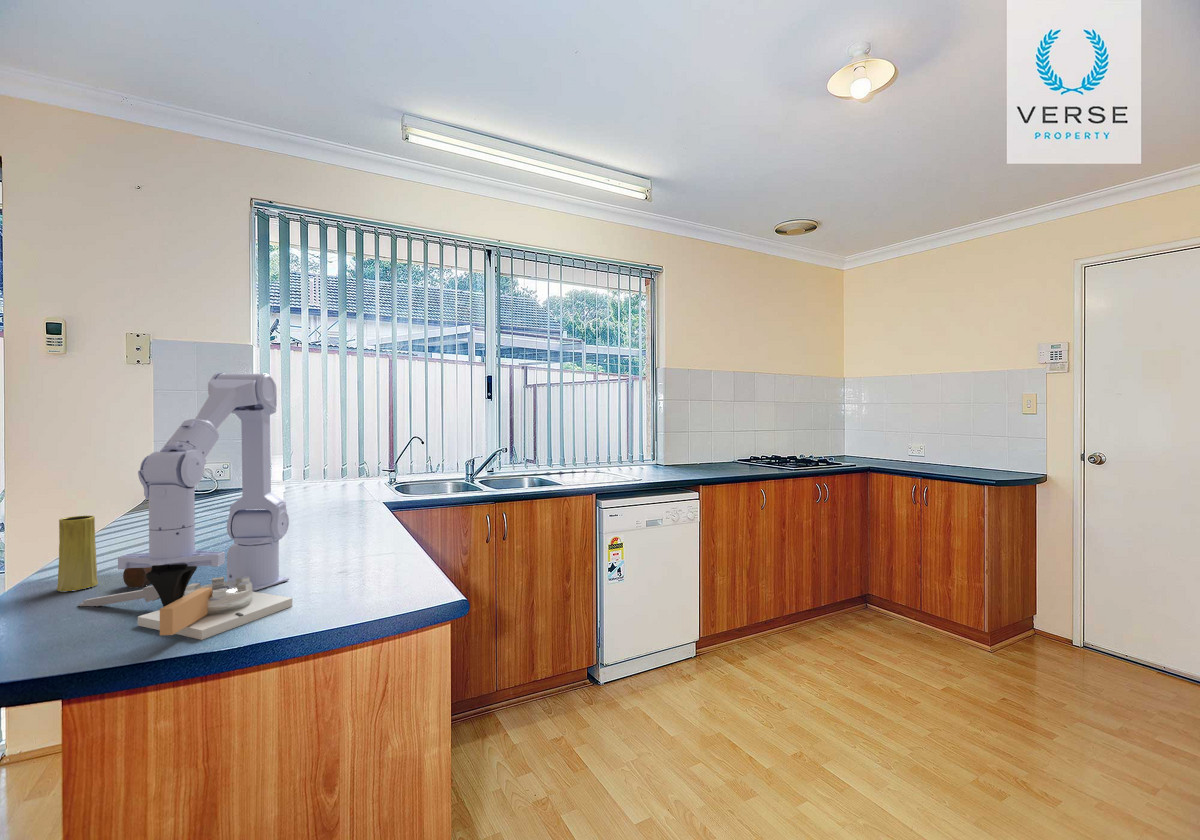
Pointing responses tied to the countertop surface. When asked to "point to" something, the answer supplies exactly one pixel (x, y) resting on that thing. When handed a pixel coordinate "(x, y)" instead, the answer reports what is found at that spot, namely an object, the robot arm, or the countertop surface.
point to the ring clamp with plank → (204, 602)
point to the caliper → (123, 597)
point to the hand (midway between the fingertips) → (172, 612)
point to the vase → (77, 553)
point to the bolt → (136, 576)
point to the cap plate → (224, 616)
